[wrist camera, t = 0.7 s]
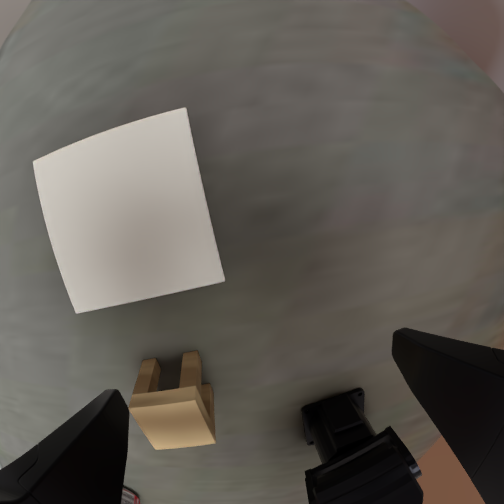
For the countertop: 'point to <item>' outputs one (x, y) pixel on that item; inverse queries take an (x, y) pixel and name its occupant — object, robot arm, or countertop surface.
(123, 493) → the soda can
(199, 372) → the mini stool
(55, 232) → the board
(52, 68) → the countertop surface
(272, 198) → the countertop surface
